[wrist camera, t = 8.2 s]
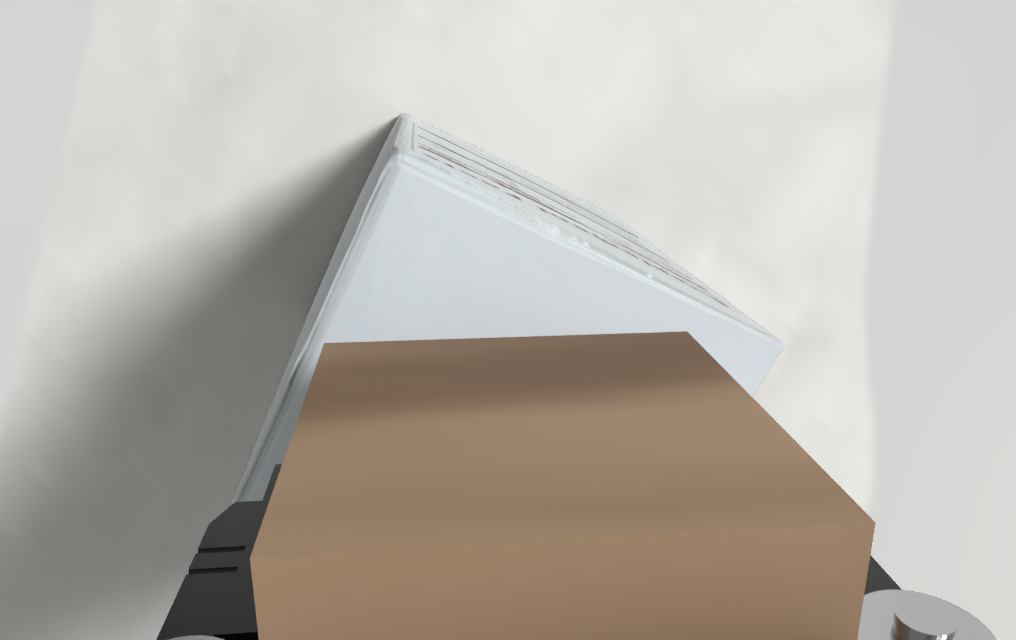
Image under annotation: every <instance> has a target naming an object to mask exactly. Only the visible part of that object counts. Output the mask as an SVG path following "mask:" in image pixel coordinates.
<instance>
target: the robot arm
mask: <svg viewBox="0 0 1016 640" xmlns="http://www.w3.org/2000/svg"><path fill="white" fill-rule="evenodd" d="M281 466H282V464H276V465H275V467H274V470H273V472H272V475H271V478H270V481H269V483H268V486H267V489H266V492H265V494H264V497H263V500H262V501H245V502H235V503H234V504H232V505H231V506H230V507H229V508H228V509H226V510H225V511H224V512H223V513H222V514H221V515H219V516H218V517H217V518H216V519H215V520H214V521H212V522H211V523H210V524H209V526H208V528H207V530H206V533H205V535H204V537H203V539H202V541H201V544H200V546H199V548H198V554H195V557H194V559H193V561H192V563H191V565H190V568H189V574H188V575H186V576H185V579H184V581H183V583H182V585H181V587H180V589H179V592H178V594H177V596H176V598H175V600H174V603H173V605H172V607H171V609H170V611H169V613H168V616H167V618H166V620H165V622H164V624H163V627H162V629H161V631H160V633H159V635H158V638H157V640H259V637H258V628H257V619H256V610H255V601H254V591H253V582H252V573H251V564H250V556H251V553H252V550H253V547H254V545H255V542H256V539H257V536H258V533H259V530H260V527H261V524H262V521H263V518H264V516H265V513H266V510H267V507H268V504H269V501H270V498H271V495H272V492H273V489H274V487H275V484H276V481H277V478H278V475H279V472H280V469H281ZM857 640H996V639H995V637H994V635H993V634H992V633H991V631H990V630H989V629H988V628H987V627H986V626H985V625H984V624H983V623H982V622H980V621H979V620H978V619H977V618H975V617H974V616H973V615H971V614H970V613H969V612H967V611H965V610H963V609H962V608H960V607H958V606H956V605H954V604H952V603H950V602H947V601H945V600H942V599H940V598H937V597H934V596H931V595H927V594H923V593H918V592H913V591H906V590H902V589H901V588H900V587H899V586H898V585H897V584H896V583H895V582H894V581H893V580H892V579H891V577H890V576H889V575H888V574H887V573H886V572H885V571H884V570H883V569H882V568H881V566H880V565H879V564H878V563H877V562H876V561H875V560H874V559H873V558H872V556H871V555H870V560H869V567H868V573H867V580H866V586H865V593H864V599H863V606H862V612H861V619H860V625H859V632H858V638H857Z"/></svg>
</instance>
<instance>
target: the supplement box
mask: <svg viewBox="0 0 1016 640" xmlns="http://www.w3.org/2000/svg"><path fill="white" fill-rule="evenodd" d="M683 331H687V332H688V333H689V334H690V335H691V336H692V337H693V338H694V339H695V340H696V341H697V342H698V343H699V344H700V345H701V346H702V347H703V348H704V349H705V350H706V351H707V352H708V353H709V354H710V355H711V356H712V357H713V358H714V359H715V360H716V361H717V362H718V363H719V364H720V365H721V366H722V367H723V368H724V369H725V370H726V371H727V372H728V373H729V374H730V375H731V376H732V377H733V378H734V379H735V380H736V381H737V382H738V383H739V384H740V385H741V387H742V388H743V389H744V390H745V391H746V392H747V393H748V394H749V395H750V396H751V397H752V398H753V397H754V396H755V394H756V392H757V390H758V389H759V387H760V385H761V384H762V382H763V380H764V379H765V377H766V375H767V374H768V372H769V370H770V369H771V367H772V366H773V364H774V362H775V361H776V359H777V358H778V356H779V354H780V353H781V351H782V348H783V344H782V342H781V341H779V340H778V339H777V338H776V337H775V336H774V335H772V334H771V333H770V332H769V331H767V330H766V329H765V328H763V327H762V326H761V325H760V324H758V323H757V322H755V321H754V320H753V319H751V318H750V317H749V316H747V315H746V314H744V313H743V312H742V311H740V310H739V309H738V308H736V307H735V306H734V305H732V304H731V303H730V302H729V301H727V300H726V299H725V298H723V297H722V296H721V295H719V294H718V293H717V292H715V291H714V290H713V289H711V288H710V287H709V286H707V285H706V284H705V283H703V282H702V281H700V280H699V279H698V278H696V277H695V276H694V275H692V274H691V273H689V272H688V271H687V270H685V269H684V268H682V267H681V266H680V265H679V264H677V263H676V262H675V261H673V260H672V259H671V258H670V257H668V256H667V255H666V254H665V253H663V252H662V251H661V250H660V249H658V248H657V247H656V246H655V245H653V244H652V243H651V242H649V240H647V239H646V238H644V237H643V236H642V235H641V234H639V233H638V232H637V231H636V230H635V229H633V228H632V227H631V226H630V225H629V224H627V223H626V222H625V221H624V220H622V219H621V218H620V217H618V216H617V215H615V214H613V213H611V212H609V211H607V210H605V209H603V208H601V207H599V206H597V205H595V204H593V203H591V202H589V201H587V200H585V199H583V198H580V197H578V196H576V195H574V194H572V193H570V192H568V191H566V190H564V189H562V188H560V187H558V186H556V185H554V184H552V183H550V182H548V181H546V180H544V179H542V178H540V177H538V176H536V175H534V174H532V173H530V172H528V171H526V170H524V169H522V168H520V167H518V166H516V165H514V164H512V163H510V162H508V161H506V160H504V159H502V158H500V157H498V156H496V155H494V154H492V153H489V152H487V151H485V150H483V149H481V148H479V147H477V146H475V145H473V144H471V143H469V142H467V141H465V140H463V139H460V138H458V137H456V136H454V135H452V134H450V133H448V132H445V131H443V130H441V129H439V128H437V127H435V126H433V125H431V124H429V123H427V122H425V121H423V120H420V119H418V118H416V117H414V116H412V115H409V114H406V113H402V114H400V115H399V117H398V118H397V120H396V122H395V124H394V126H393V128H392V130H391V132H390V134H389V136H388V138H387V140H386V142H385V144H384V146H383V148H382V150H381V152H380V154H379V156H378V158H377V160H376V162H375V164H374V166H373V168H372V170H371V172H370V174H369V176H368V179H367V181H366V183H365V185H364V187H363V189H362V191H361V193H360V195H359V197H358V200H357V202H356V204H355V206H354V208H353V211H352V213H351V215H350V217H349V219H348V222H347V224H346V226H345V228H344V231H343V233H342V235H341V238H340V240H339V242H338V245H337V247H336V249H335V252H334V254H333V257H332V259H331V261H330V264H329V266H328V268H327V271H326V273H325V275H324V278H323V280H322V282H321V284H320V287H319V289H318V292H317V294H316V296H315V299H314V301H313V304H312V306H311V308H310V311H309V313H308V316H307V318H306V320H305V323H304V325H303V328H302V330H301V333H300V335H299V337H298V340H297V342H296V345H295V347H294V350H293V352H292V355H291V357H290V360H289V362H288V364H287V367H286V369H285V372H284V374H283V377H282V379H281V382H280V384H279V387H278V389H277V391H276V394H275V396H274V399H273V401H272V404H271V406H270V409H269V411H268V414H267V416H266V419H265V421H264V424H263V426H262V429H261V431H260V434H259V436H258V439H257V441H256V443H255V446H254V448H253V451H252V453H251V456H250V458H249V461H248V463H247V466H246V468H245V470H244V473H243V475H242V478H241V480H240V483H239V485H238V487H237V490H236V492H235V495H234V497H233V499H232V502H231V504H230V506H231V505H232V504H234V503H235V502H245V501H262V500H263V497H264V494H265V492H266V489H267V486H268V483H269V481H270V478H271V475H272V472H273V470H274V467H275V465H276V464H282V463H283V460H284V458H285V455H286V452H287V449H288V446H289V443H290V440H291V437H292V434H293V431H294V429H295V426H296V423H297V420H298V417H299V414H300V411H301V408H302V405H303V403H304V400H305V397H306V394H307V391H308V388H309V385H310V382H311V379H312V376H313V374H314V371H315V368H316V365H317V362H318V359H319V356H320V353H321V350H322V347H323V345H324V343H343V342H374V341H405V340H436V339H467V338H498V337H529V336H559V335H590V334H621V333H652V332H683Z"/></svg>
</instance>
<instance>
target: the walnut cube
mask: <svg viewBox="0 0 1016 640" xmlns="http://www.w3.org/2000/svg"><path fill="white" fill-rule="evenodd" d="M874 528H875V522H874V521H873V520H872V519H871V518H870V517H869V516H868V515H867V514H866V513H865V512H864V511H863V510H862V509H861V508H860V507H859V506H858V505H857V504H856V502H855V501H854V500H853V499H852V498H851V497H850V496H849V495H848V494H847V493H846V492H845V491H844V490H843V489H842V488H841V487H840V486H839V485H838V484H837V483H836V482H835V481H834V480H833V479H832V478H831V477H830V476H829V475H828V474H827V473H826V472H825V471H824V470H823V469H822V468H821V467H820V466H819V465H818V464H817V463H816V462H815V461H814V460H813V459H812V458H811V457H810V456H809V455H808V454H807V453H806V452H805V451H804V450H803V449H802V448H801V447H800V446H799V444H798V443H797V442H796V441H795V440H794V439H793V438H792V437H791V436H790V435H789V434H788V433H787V432H786V431H785V430H784V429H783V428H782V427H781V426H780V425H779V424H778V423H777V422H776V421H775V420H774V419H773V418H772V417H771V416H770V415H769V414H768V413H767V412H766V411H765V410H764V409H763V408H762V407H761V406H760V405H759V404H758V403H757V402H756V401H755V400H754V399H753V398H752V397H751V396H750V395H749V394H748V393H747V392H746V391H745V390H744V389H743V388H742V387H741V385H740V384H739V383H738V382H737V381H736V380H735V379H734V378H733V377H732V376H731V375H730V374H729V373H728V372H727V371H726V370H725V369H724V368H723V367H722V366H721V365H720V364H719V363H718V362H717V361H716V360H715V359H714V358H713V357H712V356H711V355H710V354H709V353H708V352H707V351H706V350H705V349H704V348H703V347H702V346H701V345H700V344H699V343H698V342H697V341H696V340H695V339H694V338H693V337H692V336H691V335H690V334H689V333H688V332H687V331H683V332H652V333H621V334H590V335H559V336H529V337H498V338H467V339H436V340H405V341H374V342H343V343H324V345H323V347H322V350H321V353H320V356H319V359H318V362H317V365H316V368H315V371H314V374H313V376H312V379H311V382H310V385H309V388H308V391H307V394H306V397H305V400H304V403H303V405H302V408H301V411H300V414H299V417H298V420H297V423H296V426H295V429H294V431H293V434H292V437H291V440H290V443H289V446H288V449H287V452H286V455H285V458H284V460H283V463H282V466H281V469H280V472H279V475H278V478H277V481H276V484H275V487H274V489H273V492H272V495H271V498H270V501H269V504H268V507H267V510H266V513H265V516H264V518H263V521H262V524H261V527H260V530H259V533H258V536H257V539H256V542H255V545H254V547H253V550H252V553H251V556H250V564H251V573H252V582H253V591H254V601H255V610H256V619H257V628H258V637H259V640H857V638H858V632H859V625H860V619H861V612H862V606H863V599H864V593H865V586H866V580H867V573H868V567H869V560H870V554H871V547H872V541H873V534H874Z"/></svg>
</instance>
